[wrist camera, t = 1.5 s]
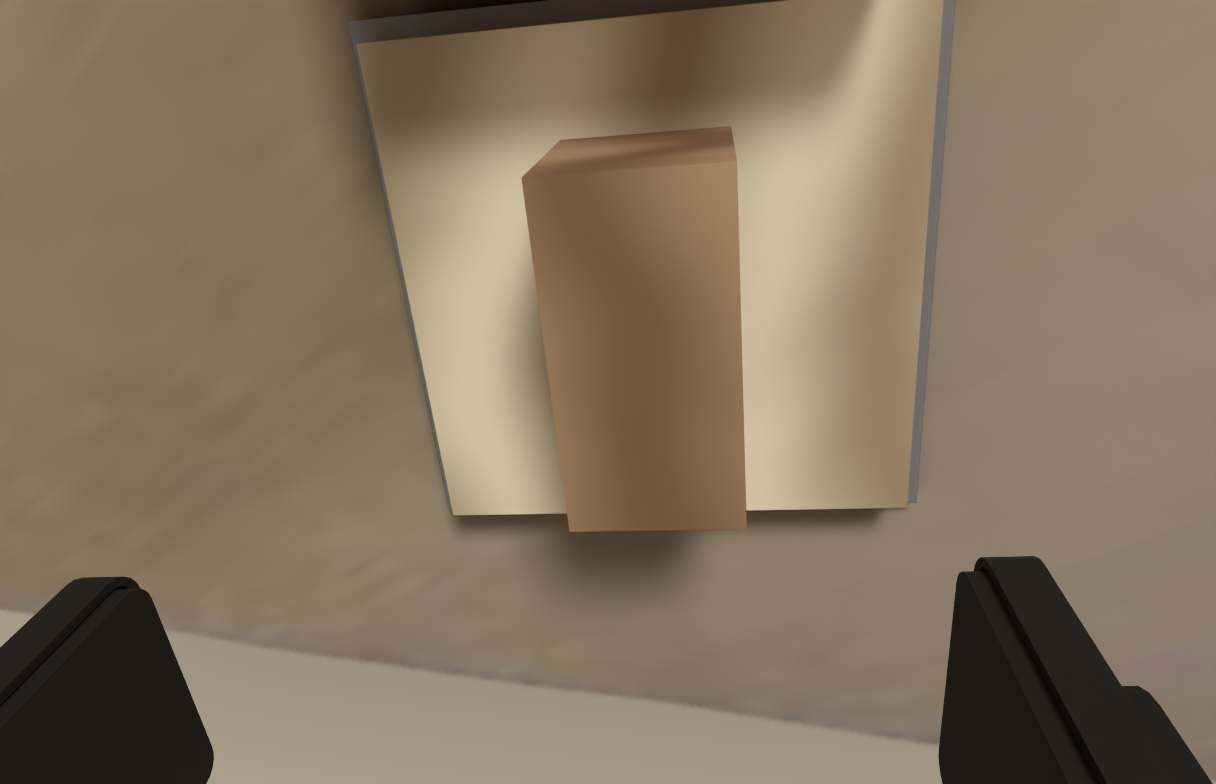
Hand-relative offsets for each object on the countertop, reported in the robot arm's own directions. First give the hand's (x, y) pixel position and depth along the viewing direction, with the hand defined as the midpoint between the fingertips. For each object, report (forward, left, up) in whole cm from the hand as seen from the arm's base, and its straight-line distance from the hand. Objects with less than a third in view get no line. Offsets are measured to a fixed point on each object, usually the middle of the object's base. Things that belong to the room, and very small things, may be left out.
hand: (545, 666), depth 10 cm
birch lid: (-1, 0, -14) cm, 14 cm away
